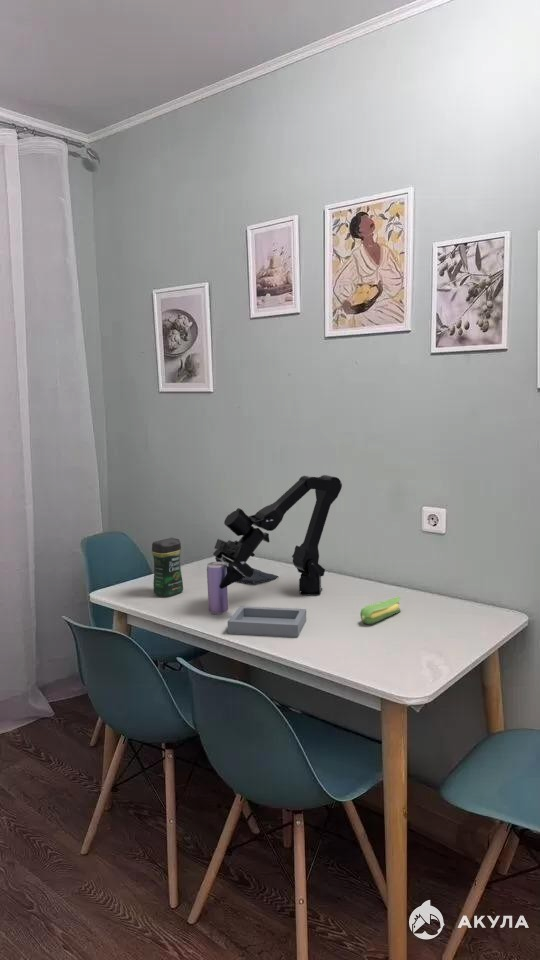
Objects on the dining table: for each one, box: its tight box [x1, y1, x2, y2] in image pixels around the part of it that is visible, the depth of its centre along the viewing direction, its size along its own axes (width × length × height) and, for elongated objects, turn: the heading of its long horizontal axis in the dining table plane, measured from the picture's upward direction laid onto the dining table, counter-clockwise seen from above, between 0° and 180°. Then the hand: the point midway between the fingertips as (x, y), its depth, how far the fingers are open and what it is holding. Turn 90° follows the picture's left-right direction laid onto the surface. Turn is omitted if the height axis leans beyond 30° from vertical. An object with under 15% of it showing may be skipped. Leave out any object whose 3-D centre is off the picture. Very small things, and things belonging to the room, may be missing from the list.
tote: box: [226, 605, 307, 638], centre depth 199 cm, size 20×13×4 cm, turn 77°
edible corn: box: [359, 596, 402, 625], centre depth 204 cm, size 5×20×5 cm
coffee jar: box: [151, 537, 184, 598], centre depth 231 cm, size 10×8×19 cm
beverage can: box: [206, 561, 229, 615], centre depth 212 cm, size 6×6×15 cm
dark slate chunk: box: [237, 568, 279, 585], centre depth 248 cm, size 15×22×5 cm
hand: (216, 585), depth 212 cm, fingers closed on beverage can, 6 cm apart
